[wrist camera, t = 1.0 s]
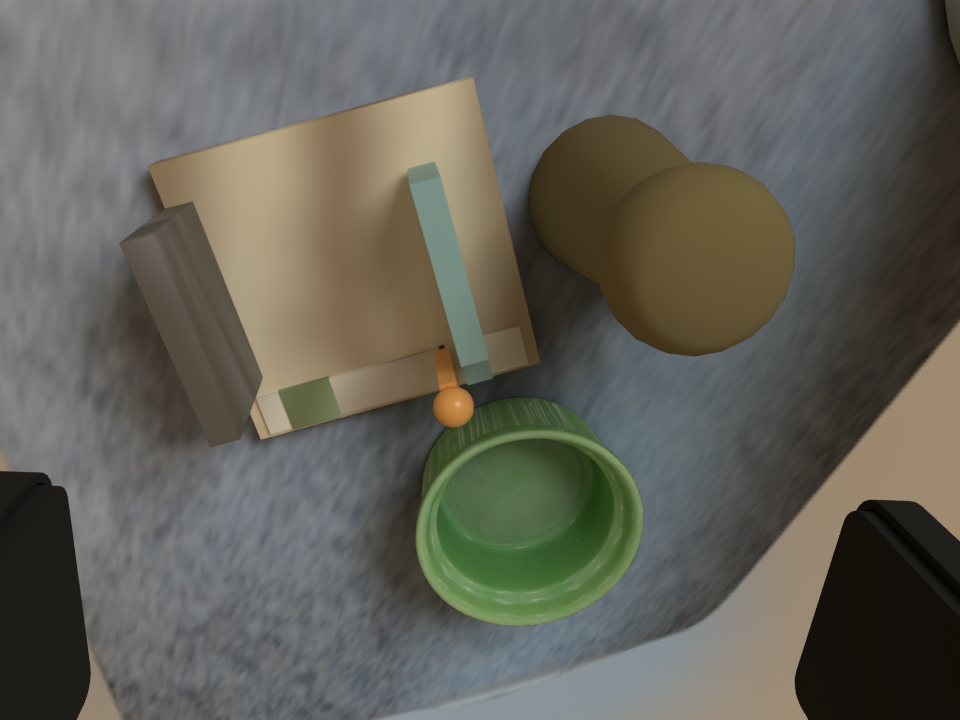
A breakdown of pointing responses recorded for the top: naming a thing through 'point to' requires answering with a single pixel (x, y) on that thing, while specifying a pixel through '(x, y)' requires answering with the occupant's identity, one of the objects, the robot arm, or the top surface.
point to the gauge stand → (325, 264)
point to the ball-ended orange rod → (450, 393)
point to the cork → (663, 235)
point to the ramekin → (525, 514)
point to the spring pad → (449, 271)
